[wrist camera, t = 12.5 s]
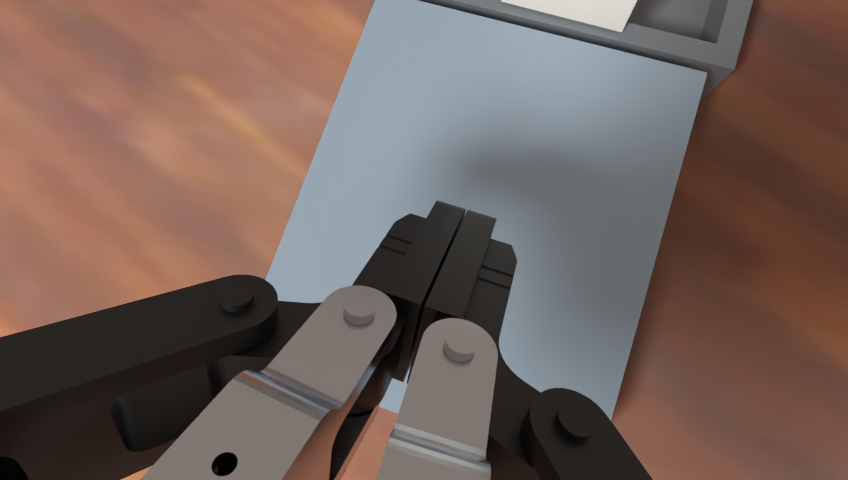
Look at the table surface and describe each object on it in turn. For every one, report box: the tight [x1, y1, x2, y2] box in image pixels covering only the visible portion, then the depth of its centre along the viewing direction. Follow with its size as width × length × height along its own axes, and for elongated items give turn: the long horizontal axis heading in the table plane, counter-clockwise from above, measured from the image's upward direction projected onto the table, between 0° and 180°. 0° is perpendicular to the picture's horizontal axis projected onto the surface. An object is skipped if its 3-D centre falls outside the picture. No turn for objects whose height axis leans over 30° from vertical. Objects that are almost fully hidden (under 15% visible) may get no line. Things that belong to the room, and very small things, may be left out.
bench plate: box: [266, 0, 707, 421], centre depth 17 cm, size 12×14×3 cm
